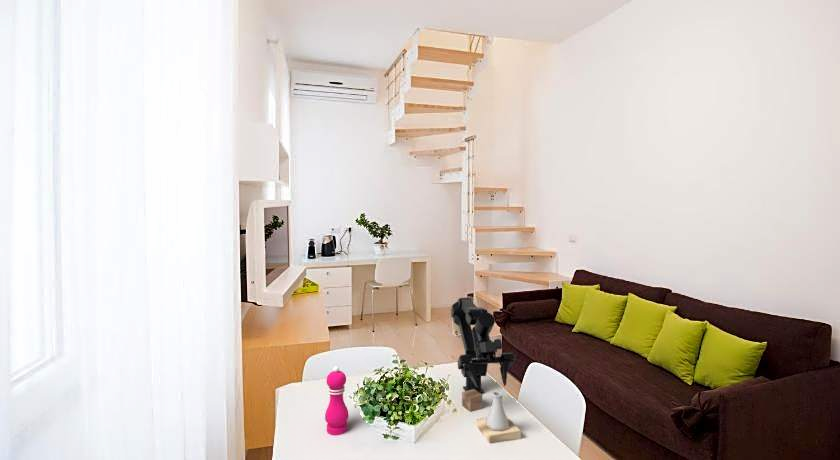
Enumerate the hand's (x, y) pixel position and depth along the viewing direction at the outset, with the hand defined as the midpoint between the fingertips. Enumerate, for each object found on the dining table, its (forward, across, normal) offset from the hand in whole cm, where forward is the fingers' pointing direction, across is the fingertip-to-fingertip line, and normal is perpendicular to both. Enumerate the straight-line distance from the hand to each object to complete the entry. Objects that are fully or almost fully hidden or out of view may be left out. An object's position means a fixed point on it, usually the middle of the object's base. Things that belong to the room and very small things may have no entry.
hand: (491, 386), depth 132 cm
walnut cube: (+1, -4, +15) cm, 16 cm away
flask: (+12, 0, +1) cm, 12 cm away
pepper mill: (+8, -49, +9) cm, 50 cm away
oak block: (+13, 0, +4) cm, 14 cm away
